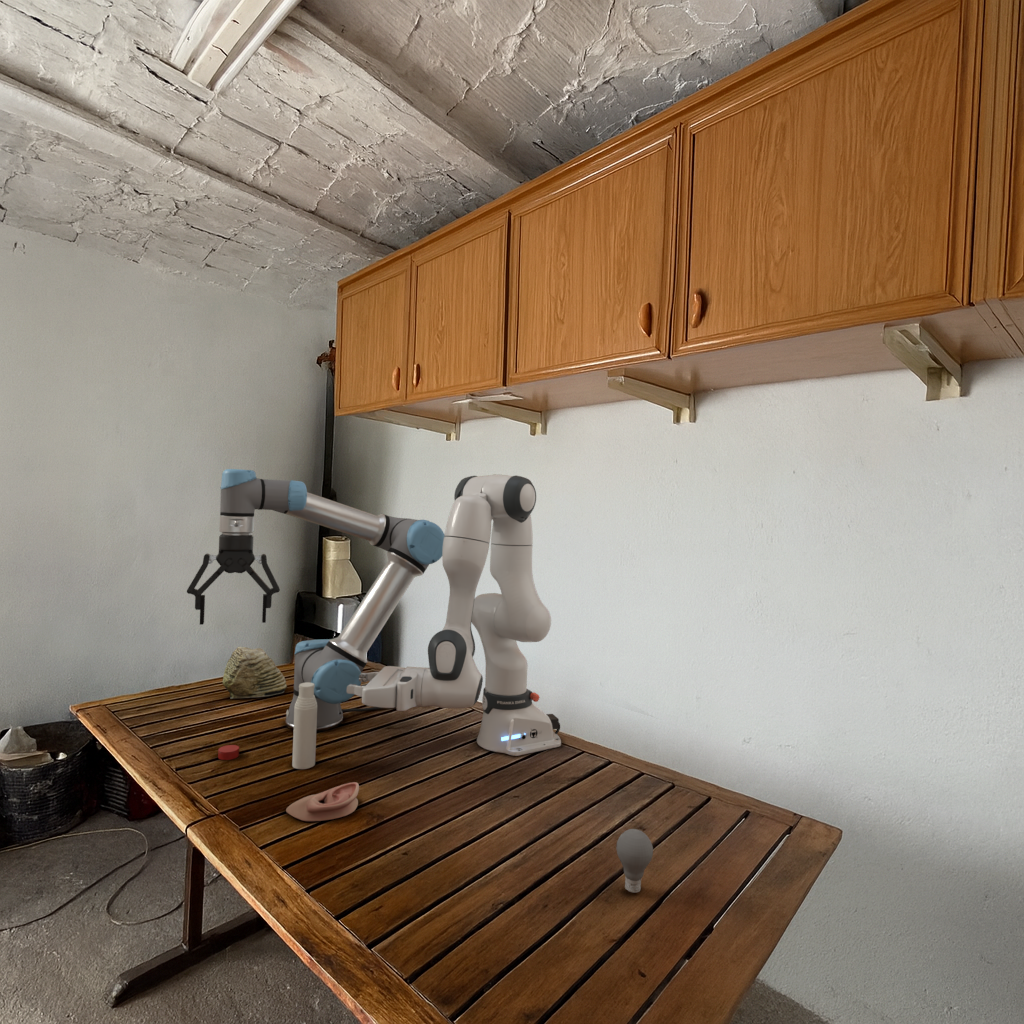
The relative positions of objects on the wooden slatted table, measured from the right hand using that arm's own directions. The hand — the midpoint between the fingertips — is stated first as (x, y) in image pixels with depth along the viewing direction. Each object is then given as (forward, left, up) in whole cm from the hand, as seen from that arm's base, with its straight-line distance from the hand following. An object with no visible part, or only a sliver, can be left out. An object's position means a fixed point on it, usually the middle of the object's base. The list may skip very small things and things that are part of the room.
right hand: (353, 682), depth 148 cm
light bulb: (-38, +61, -20) cm, 75 cm away
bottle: (+10, -5, -20) cm, 23 cm away
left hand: (+27, -15, +12) cm, 33 cm away
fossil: (+21, -62, -20) cm, 69 cm away
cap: (+27, -15, -19) cm, 36 cm away
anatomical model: (+8, +18, -20) cm, 28 cm away
